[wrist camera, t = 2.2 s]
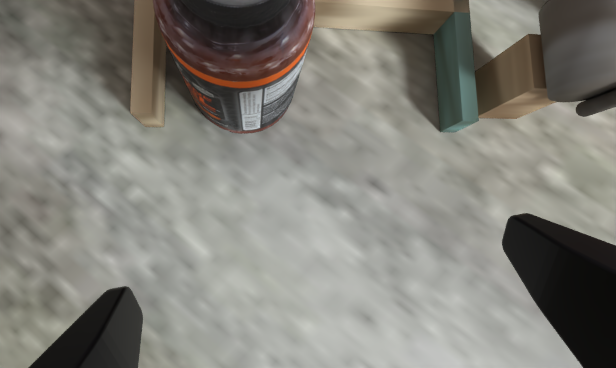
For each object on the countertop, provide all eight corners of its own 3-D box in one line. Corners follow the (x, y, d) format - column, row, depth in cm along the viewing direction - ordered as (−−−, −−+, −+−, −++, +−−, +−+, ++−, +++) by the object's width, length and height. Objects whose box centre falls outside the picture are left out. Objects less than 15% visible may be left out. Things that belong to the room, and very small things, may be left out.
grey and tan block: (472, 139, 23) (604, 86, 14) (466, 64, 24) (588, -31, 15) (522, 140, 23) (677, 89, 15) (514, 66, 24) (660, -24, 15)
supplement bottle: (171, 75, 21) (72, -104, 9) (254, 24, 22) (252, -189, 11) (232, 156, 20) (204, 73, 9) (312, 101, 22) (371, -32, 11)
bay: (145, 126, 20) (130, 112, 18) (149, 1, 21) (135, -29, 18) (454, 132, 23) (478, 120, 20) (446, 21, 24) (468, -3, 21)
